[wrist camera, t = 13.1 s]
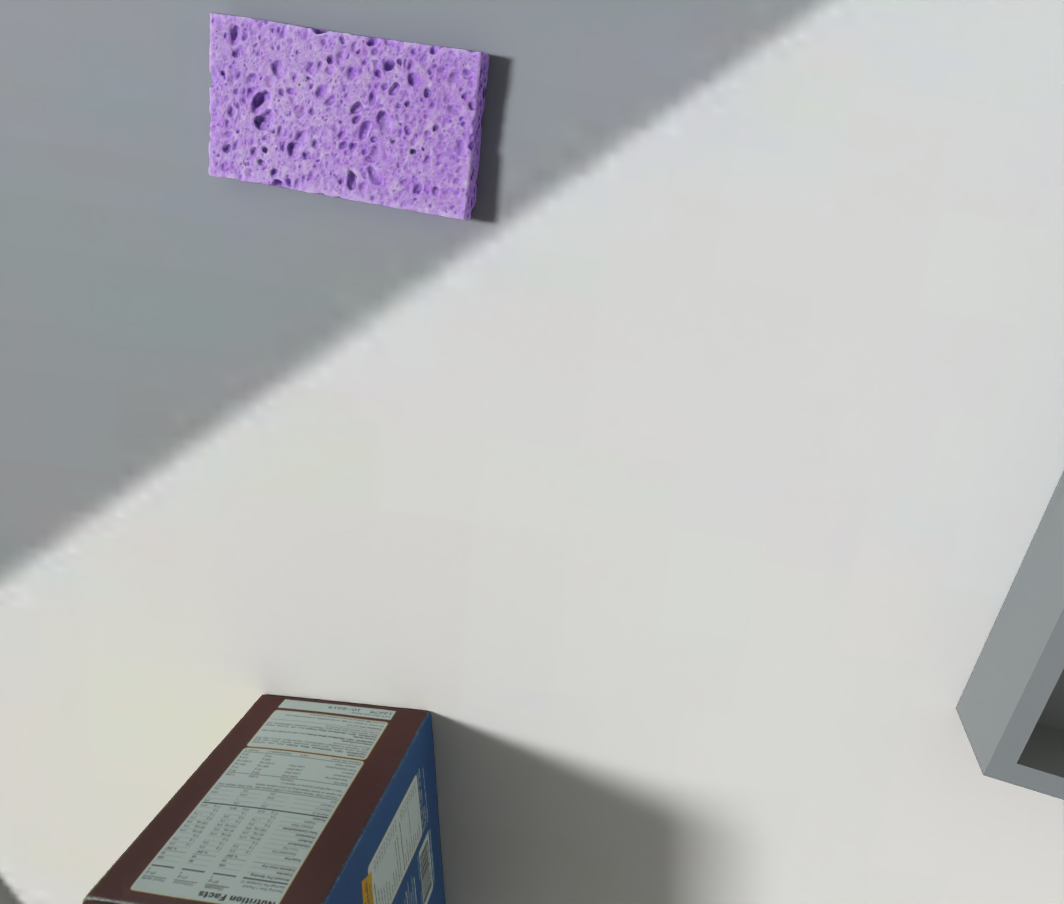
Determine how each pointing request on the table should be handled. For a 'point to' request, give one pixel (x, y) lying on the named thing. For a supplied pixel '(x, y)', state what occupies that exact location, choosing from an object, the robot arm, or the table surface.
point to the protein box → (296, 815)
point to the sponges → (346, 115)
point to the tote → (1024, 671)
